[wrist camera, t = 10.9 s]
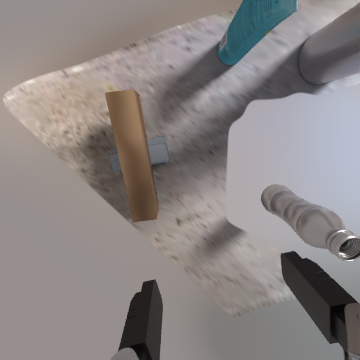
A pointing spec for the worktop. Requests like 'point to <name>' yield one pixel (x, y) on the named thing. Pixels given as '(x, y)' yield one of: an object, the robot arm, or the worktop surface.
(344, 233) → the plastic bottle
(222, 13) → the worktop surface
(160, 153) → the ridge
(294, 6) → the tube
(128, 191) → the walnut bar
